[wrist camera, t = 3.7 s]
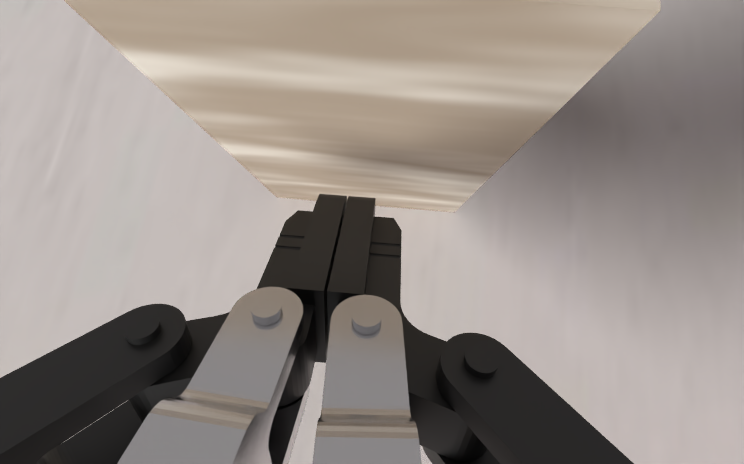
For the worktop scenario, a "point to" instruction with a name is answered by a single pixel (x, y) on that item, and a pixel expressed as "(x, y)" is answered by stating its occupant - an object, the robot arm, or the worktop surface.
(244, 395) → the robot arm
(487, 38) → the block
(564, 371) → the worktop surface
